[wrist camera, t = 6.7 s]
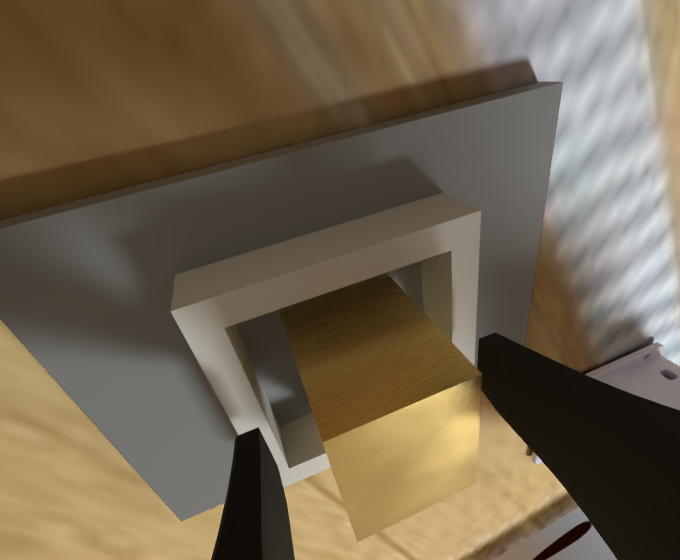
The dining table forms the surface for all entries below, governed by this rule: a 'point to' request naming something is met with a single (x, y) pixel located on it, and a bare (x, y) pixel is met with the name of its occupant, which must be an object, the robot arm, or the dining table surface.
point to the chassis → (274, 277)
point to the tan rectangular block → (386, 400)
